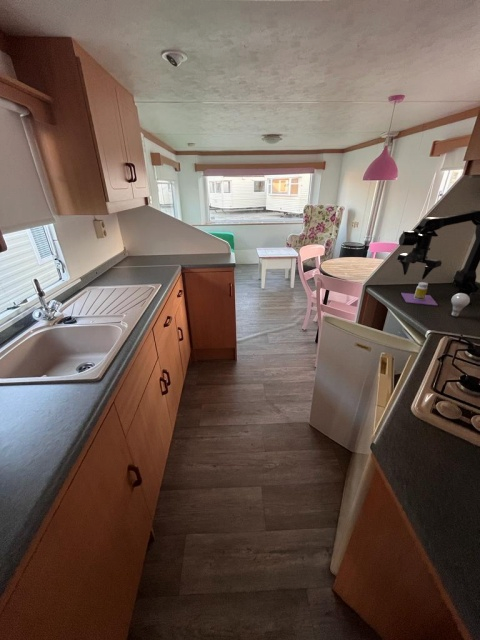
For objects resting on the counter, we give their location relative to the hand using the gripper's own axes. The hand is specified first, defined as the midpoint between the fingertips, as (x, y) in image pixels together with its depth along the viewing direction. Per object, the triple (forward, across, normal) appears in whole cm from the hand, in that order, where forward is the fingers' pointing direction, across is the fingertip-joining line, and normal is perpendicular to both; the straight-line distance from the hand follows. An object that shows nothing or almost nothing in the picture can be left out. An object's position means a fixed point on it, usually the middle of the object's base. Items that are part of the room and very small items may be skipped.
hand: (413, 276), depth 135 cm
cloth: (+12, +3, +4) cm, 13 cm away
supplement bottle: (+12, +3, +4) cm, 13 cm away
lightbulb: (+12, +23, -3) cm, 27 cm away
